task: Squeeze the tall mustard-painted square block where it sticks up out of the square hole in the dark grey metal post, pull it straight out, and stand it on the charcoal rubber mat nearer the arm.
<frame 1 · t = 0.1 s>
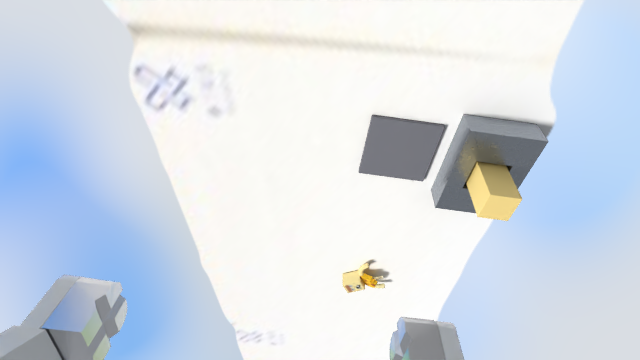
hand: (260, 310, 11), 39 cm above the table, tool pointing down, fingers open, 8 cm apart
square block: (479, 159, 54), resting in socket post
socket post: (479, 159, 54), on the table
rubber mat: (398, 148, 54), on the table
character toy: (367, 272, 76), on the table
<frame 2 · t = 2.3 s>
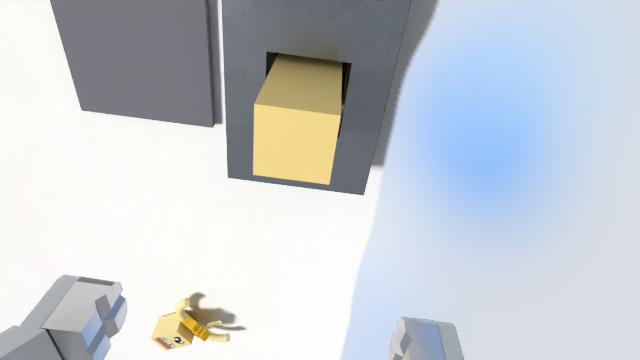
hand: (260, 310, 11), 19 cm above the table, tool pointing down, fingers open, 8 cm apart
square block: (310, 74, 26), resting in socket post
socket post: (310, 74, 26), on the table
rubber mat: (139, 50, 26), on the table
character toy: (204, 314, 46), on the table
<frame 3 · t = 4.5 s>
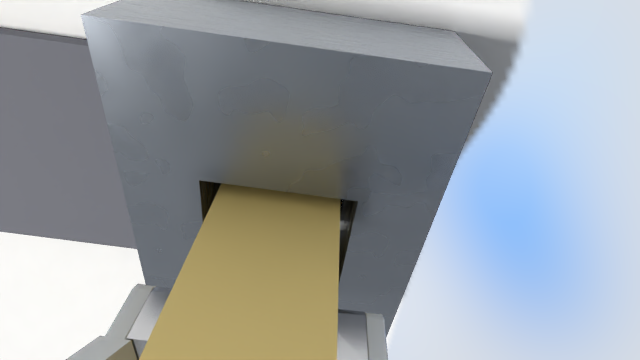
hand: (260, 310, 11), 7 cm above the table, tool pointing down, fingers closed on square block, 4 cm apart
square block: (289, 180, 16), resting in socket post, touching gripper
socket post: (289, 180, 16), on the table
rubber mat: (13, 144, 16), on the table
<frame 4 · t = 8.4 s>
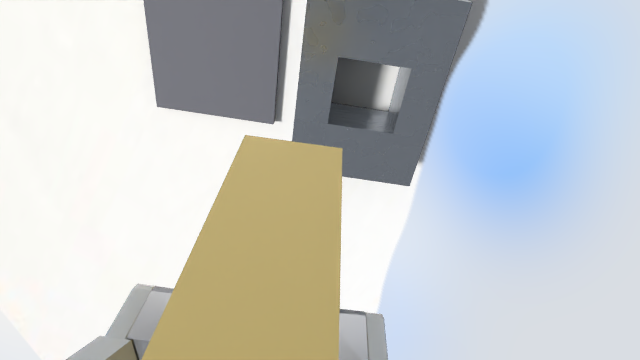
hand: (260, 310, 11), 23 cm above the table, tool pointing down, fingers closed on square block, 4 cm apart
square block: (290, 181, 16), point 16 cm above the table, touching gripper
socket post: (365, 78, 30), on the table
rubber mat: (216, 54, 29), on the table
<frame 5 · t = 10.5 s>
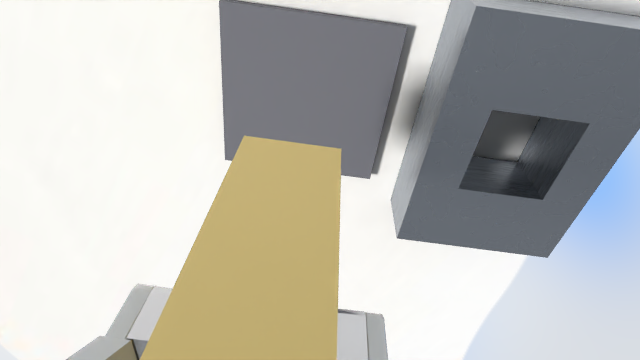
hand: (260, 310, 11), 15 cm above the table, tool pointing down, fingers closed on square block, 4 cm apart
square block: (289, 181, 16), point 8 cm above the table, touching gripper
socket post: (495, 124, 23), on the table
rubber mat: (305, 98, 23), on the table
when the fingers open (8 cm above the table, at t = 12.5 s): square block stays where it is, resting on rubber mat.
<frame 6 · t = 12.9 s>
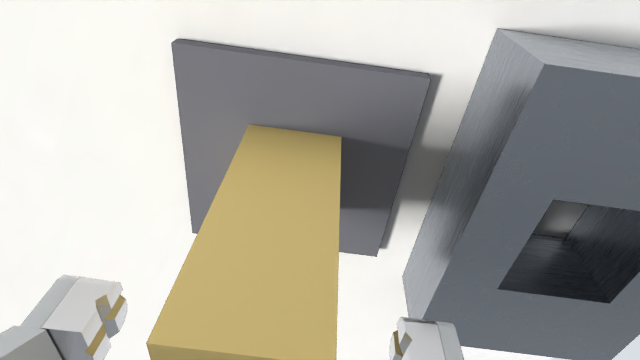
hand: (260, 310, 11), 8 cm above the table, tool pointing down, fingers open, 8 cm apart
square block: (291, 168, 17), point 1 cm above the table, touching rubber mat
socket post: (541, 194, 18), on the table
rubber mat: (293, 161, 18), on the table
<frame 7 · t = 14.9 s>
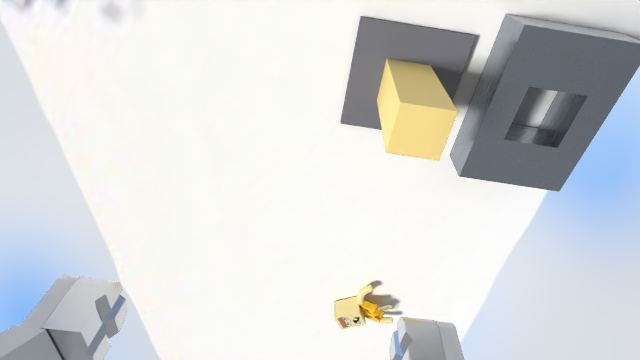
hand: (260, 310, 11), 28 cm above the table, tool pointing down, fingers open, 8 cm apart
square block: (402, 83, 34), point 1 cm above the table, touching rubber mat
socket post: (525, 100, 35), on the table
rubber mat: (402, 81, 35), on the table
character toy: (369, 300, 54), on the table
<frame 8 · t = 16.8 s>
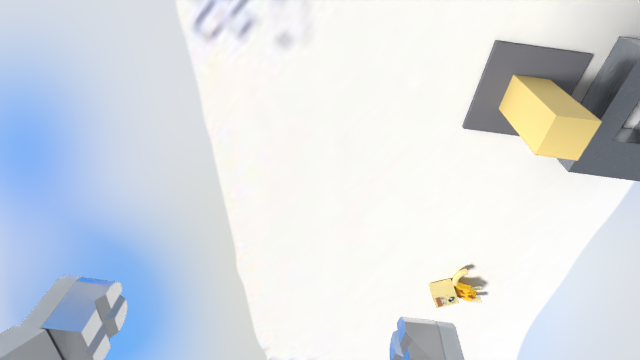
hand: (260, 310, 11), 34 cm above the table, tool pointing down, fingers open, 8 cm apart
square block: (523, 94, 41), point 1 cm above the table, touching rubber mat
socket post: (626, 106, 42), on the table
rubber mat: (521, 92, 41), on the table
character toy: (458, 282, 62), on the table
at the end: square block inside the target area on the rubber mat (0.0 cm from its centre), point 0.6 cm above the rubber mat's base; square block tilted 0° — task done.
